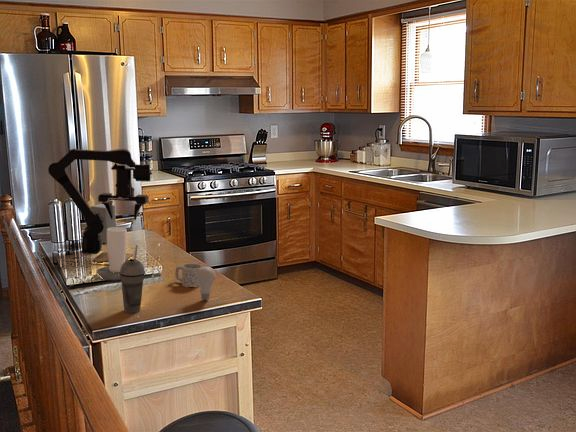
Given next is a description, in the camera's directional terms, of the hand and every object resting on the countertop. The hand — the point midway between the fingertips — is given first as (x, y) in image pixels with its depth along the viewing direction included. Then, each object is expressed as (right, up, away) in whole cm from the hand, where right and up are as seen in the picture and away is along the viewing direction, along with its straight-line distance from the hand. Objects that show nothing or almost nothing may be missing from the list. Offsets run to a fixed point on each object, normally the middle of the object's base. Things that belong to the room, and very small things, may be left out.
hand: (123, 219), depth 238 cm
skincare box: (-13, -10, +16) cm, 23 cm away
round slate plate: (+6, -19, -30) cm, 36 cm away
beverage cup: (+20, -27, -63) cm, 71 cm away
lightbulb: (+40, -25, -51) cm, 69 cm away
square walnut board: (-1, -16, -12) cm, 20 cm away
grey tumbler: (+6, -18, -30) cm, 35 cm away
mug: (+32, -22, -35) cm, 52 cm away
